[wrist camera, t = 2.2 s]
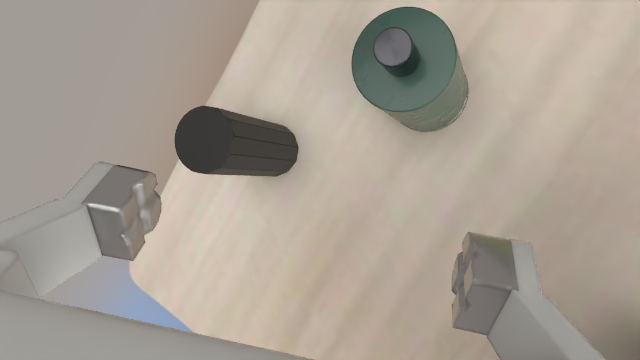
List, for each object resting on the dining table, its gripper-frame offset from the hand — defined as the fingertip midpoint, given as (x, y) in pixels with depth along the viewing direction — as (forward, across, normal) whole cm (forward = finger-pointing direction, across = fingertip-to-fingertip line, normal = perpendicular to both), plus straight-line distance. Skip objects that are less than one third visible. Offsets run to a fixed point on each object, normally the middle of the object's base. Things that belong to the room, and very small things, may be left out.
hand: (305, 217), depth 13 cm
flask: (+35, -6, +15) cm, 39 cm away
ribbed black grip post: (+33, +9, +24) cm, 42 cm away
